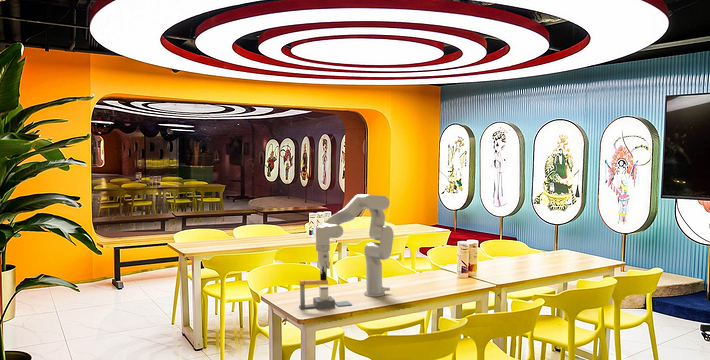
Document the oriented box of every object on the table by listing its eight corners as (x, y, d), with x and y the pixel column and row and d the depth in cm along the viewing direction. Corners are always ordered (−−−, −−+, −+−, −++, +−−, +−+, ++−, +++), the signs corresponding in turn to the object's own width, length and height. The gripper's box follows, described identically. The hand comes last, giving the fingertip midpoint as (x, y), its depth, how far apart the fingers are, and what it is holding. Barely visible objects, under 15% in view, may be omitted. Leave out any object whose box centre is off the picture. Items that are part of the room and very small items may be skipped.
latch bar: (327, 283, 278) (327, 279, 278) (327, 284, 275) (327, 280, 275) (299, 283, 277) (299, 280, 277) (299, 285, 274) (299, 281, 274)
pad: (348, 301, 287) (348, 300, 287) (352, 305, 280) (352, 304, 280) (334, 303, 285) (334, 302, 285) (338, 306, 278) (338, 305, 278)
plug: (326, 304, 282) (326, 285, 282) (328, 306, 278) (328, 286, 278) (319, 305, 281) (319, 285, 281) (321, 307, 277) (320, 287, 277)
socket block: (330, 303, 286) (330, 280, 285) (335, 307, 276) (334, 284, 276) (298, 306, 280) (298, 283, 280) (301, 310, 271) (301, 287, 271)
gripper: (332, 249, 272) (333, 283, 273) (326, 245, 287) (327, 277, 287) (318, 250, 270) (319, 284, 270) (313, 246, 285) (314, 278, 285)
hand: (323, 280), depth 279 cm, fingers closed
